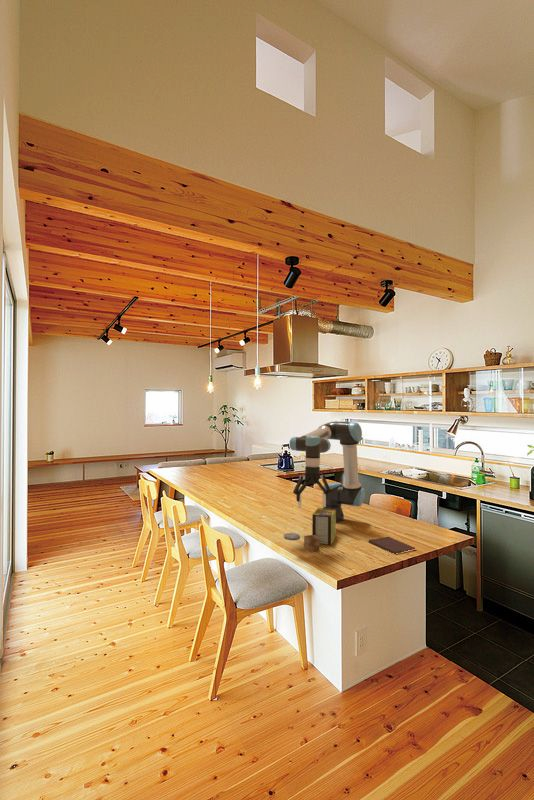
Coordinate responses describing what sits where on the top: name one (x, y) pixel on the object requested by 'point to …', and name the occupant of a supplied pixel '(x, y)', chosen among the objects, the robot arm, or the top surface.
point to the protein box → (324, 525)
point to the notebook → (391, 545)
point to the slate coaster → (291, 536)
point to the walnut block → (311, 542)
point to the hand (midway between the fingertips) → (311, 507)
